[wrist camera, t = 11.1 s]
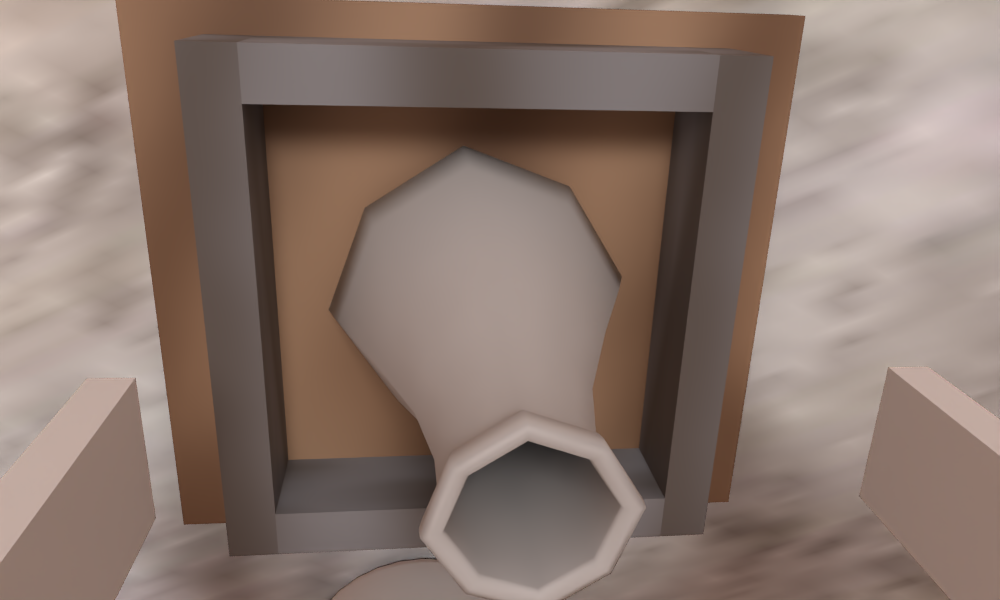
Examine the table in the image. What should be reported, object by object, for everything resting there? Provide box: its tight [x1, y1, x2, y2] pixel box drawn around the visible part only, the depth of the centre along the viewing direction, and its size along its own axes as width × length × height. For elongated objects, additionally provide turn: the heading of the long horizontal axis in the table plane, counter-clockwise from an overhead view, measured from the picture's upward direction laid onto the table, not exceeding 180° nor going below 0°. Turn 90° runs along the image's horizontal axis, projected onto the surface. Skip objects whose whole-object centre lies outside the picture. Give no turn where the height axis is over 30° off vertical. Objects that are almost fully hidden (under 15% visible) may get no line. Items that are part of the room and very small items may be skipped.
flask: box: [329, 146, 646, 600], centre depth 16 cm, size 7×7×10 cm
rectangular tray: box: [116, 0, 805, 556], centre depth 20 cm, size 16×14×4 cm
